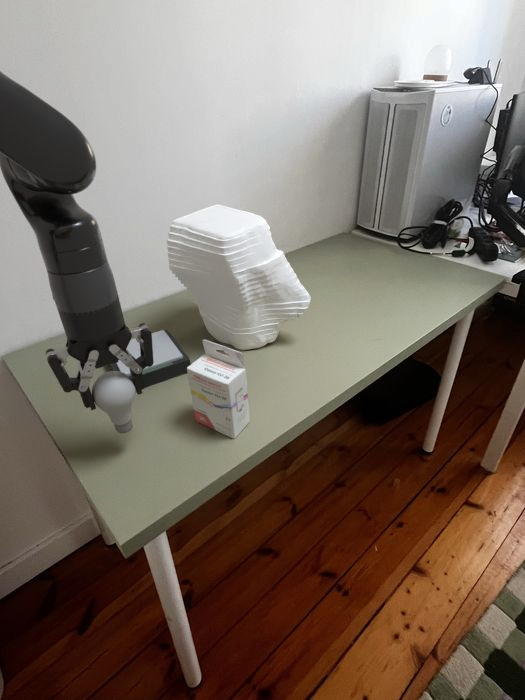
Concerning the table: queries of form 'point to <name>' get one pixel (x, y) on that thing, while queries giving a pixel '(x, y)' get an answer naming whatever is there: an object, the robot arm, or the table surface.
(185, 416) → the table surface
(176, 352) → the scale
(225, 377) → the ink cartridge box
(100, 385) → the lightbulb
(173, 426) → the table surface
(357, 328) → the table surface
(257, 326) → the white layered head sculpture
